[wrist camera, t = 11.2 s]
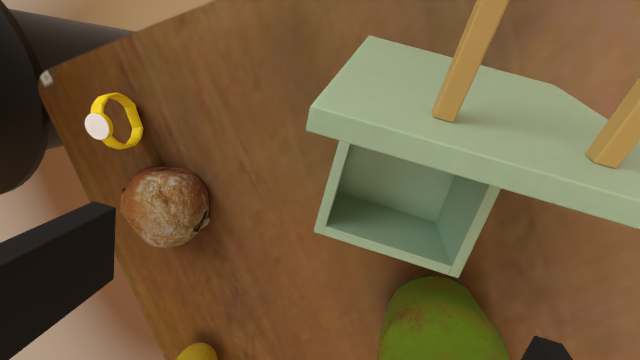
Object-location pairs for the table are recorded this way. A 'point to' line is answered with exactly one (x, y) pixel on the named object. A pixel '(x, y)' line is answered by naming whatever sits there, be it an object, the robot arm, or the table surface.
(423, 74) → the lid
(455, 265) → the bread box
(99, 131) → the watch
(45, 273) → the robot arm
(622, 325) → the table surface
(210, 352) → the lemon
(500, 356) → the apple
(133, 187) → the bread roll
